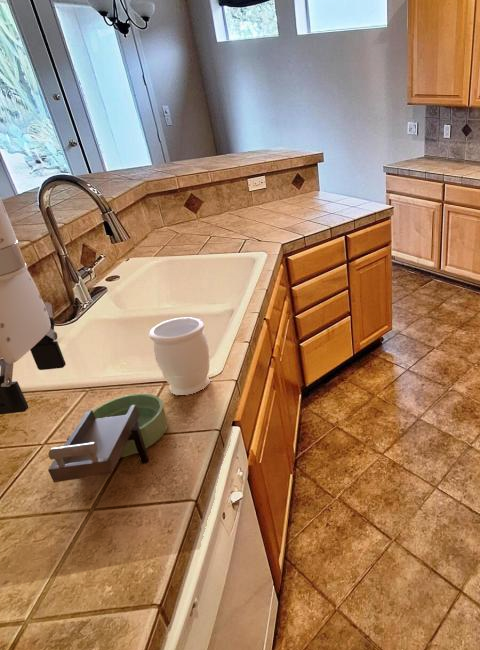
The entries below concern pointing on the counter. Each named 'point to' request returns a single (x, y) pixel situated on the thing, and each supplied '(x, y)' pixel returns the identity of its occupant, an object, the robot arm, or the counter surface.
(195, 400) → the counter surface
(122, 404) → the bowl
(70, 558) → the counter surface
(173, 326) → the jar
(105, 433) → the scoop
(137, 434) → the bracket
